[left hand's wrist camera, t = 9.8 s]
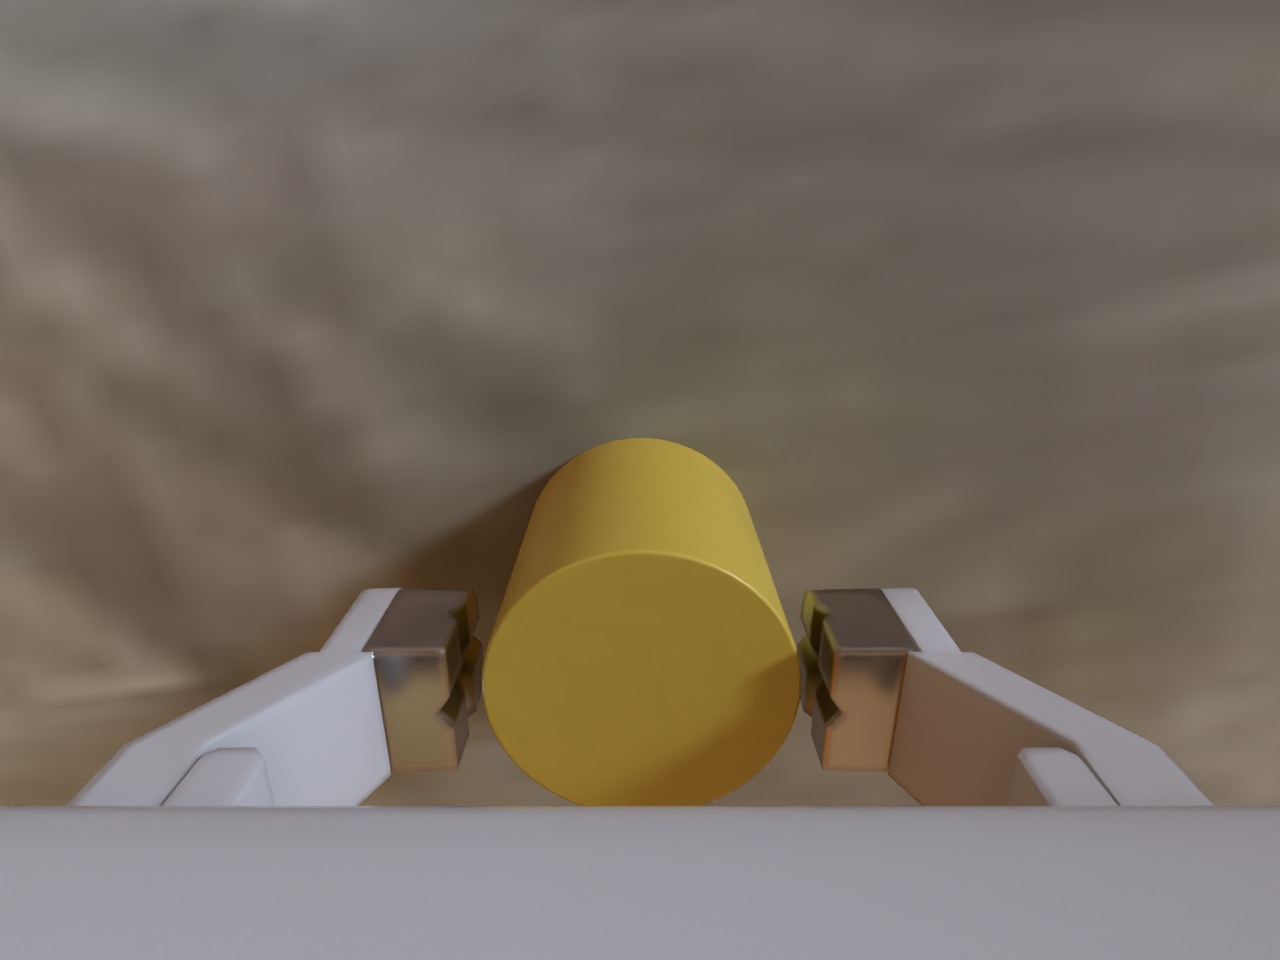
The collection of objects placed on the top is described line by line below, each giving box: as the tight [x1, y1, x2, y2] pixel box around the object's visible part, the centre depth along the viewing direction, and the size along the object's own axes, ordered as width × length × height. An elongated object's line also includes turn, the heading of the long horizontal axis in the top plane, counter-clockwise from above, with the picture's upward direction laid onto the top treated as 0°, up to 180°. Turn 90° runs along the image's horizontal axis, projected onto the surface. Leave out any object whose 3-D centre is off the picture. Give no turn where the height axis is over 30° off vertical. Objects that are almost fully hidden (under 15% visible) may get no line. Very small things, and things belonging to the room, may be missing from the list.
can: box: [482, 438, 801, 806], centre depth 11 cm, size 4×4×4 cm
